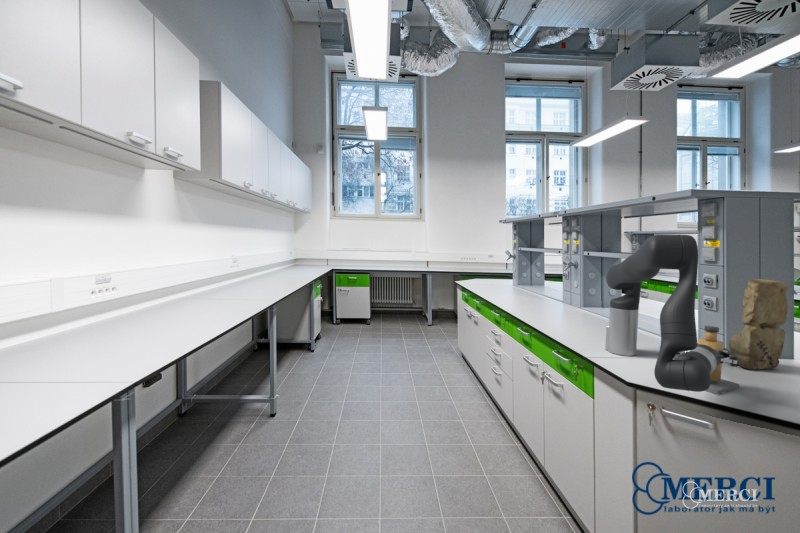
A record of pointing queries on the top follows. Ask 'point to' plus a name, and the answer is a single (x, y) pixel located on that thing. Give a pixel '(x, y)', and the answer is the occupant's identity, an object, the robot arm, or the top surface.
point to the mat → (722, 386)
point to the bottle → (713, 343)
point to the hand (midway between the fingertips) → (711, 349)
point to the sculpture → (761, 325)
